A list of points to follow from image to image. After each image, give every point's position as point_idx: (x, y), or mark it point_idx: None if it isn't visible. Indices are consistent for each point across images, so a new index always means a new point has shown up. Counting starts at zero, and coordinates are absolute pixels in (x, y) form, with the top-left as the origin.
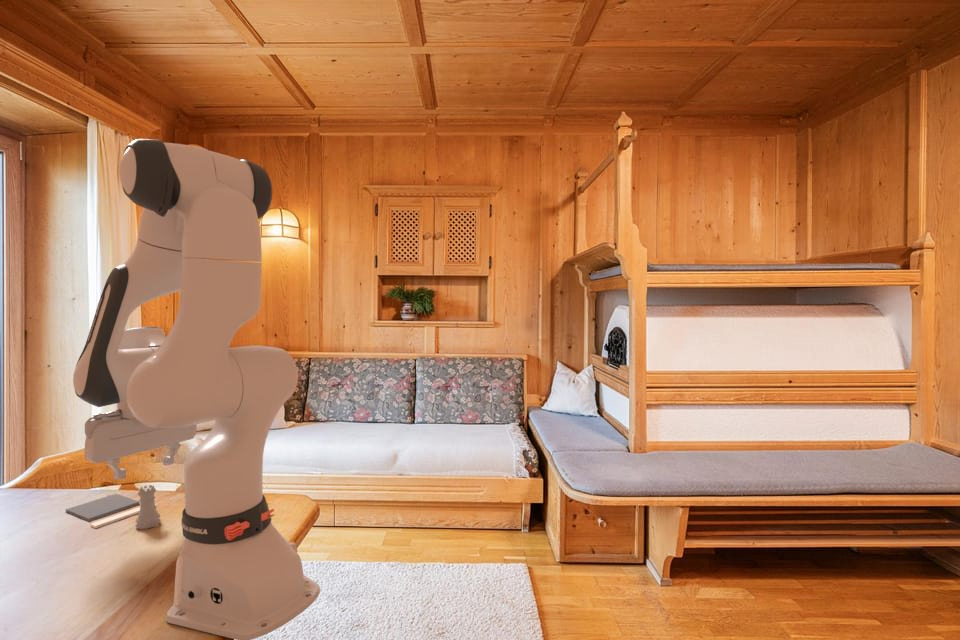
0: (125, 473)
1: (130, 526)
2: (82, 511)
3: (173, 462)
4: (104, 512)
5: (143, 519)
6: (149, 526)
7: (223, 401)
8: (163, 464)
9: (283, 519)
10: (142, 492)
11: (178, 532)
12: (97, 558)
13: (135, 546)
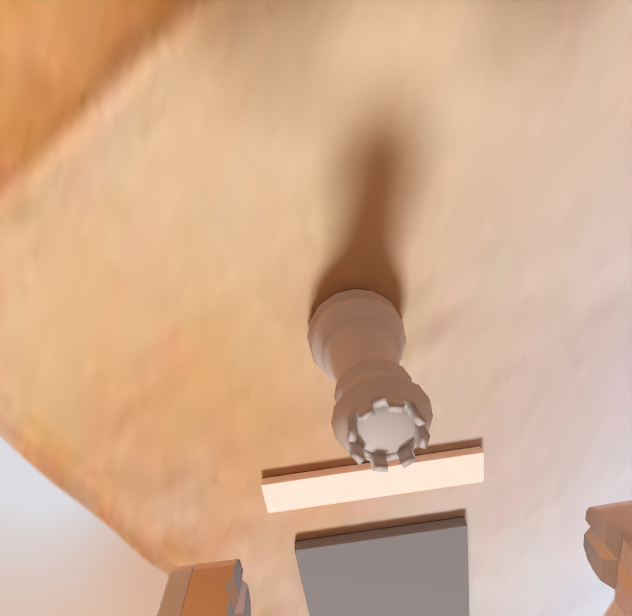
0: (627, 532)
1: None
2: (449, 591)
3: (176, 573)
4: (413, 539)
5: (391, 320)
6: (368, 291)
7: None
8: (249, 596)
9: None
10: (421, 405)
11: (303, 136)
12: (615, 161)
13: (482, 148)
